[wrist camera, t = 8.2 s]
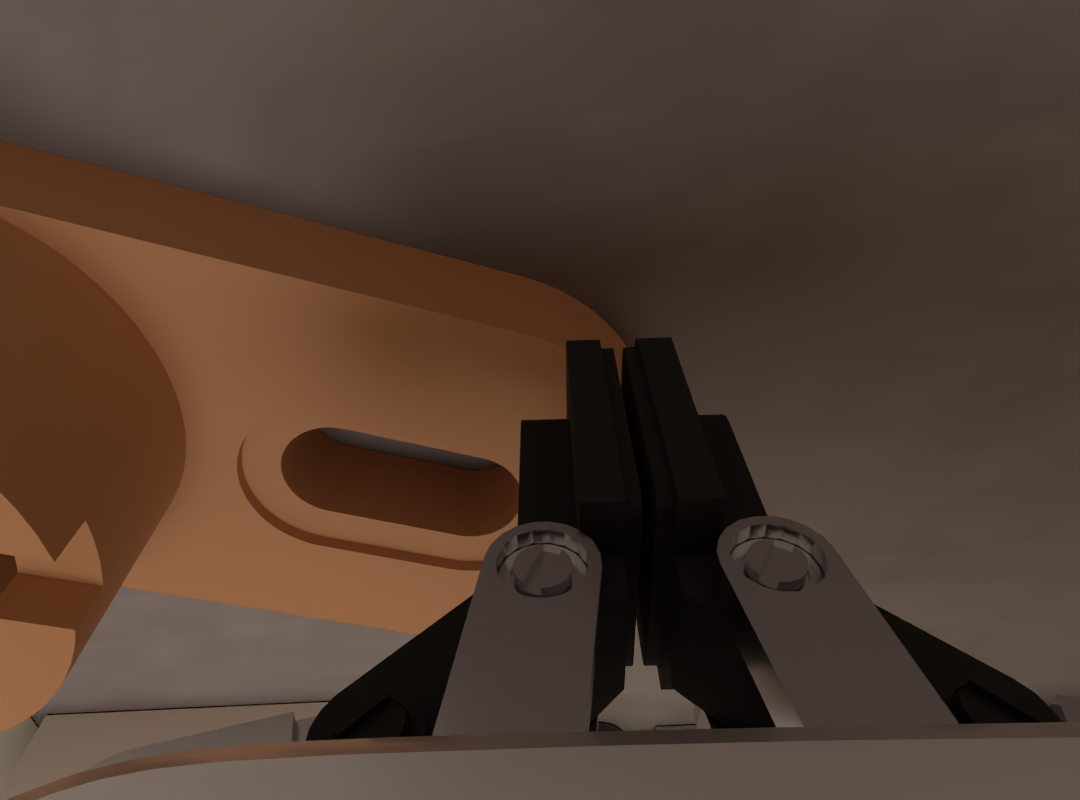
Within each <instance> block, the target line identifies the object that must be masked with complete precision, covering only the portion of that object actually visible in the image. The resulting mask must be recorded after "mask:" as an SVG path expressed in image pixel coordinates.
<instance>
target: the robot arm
mask: <svg viewBox="0 0 1080 800" xmlns="http://www.w3.org/2000/svg"><path fill="white" fill-rule="evenodd" d="M566 404H567V419H540V420H521V434H520V466H519V498H518V526H516V527H514V528H512V529H510V530H508V531H506V532H504V533H502V534H501V535H500V536H499V537H498V538H497V539H496V540H495V541H494V542H493V543H492V544H491V545H490V547H489V548H488V550H487V552H486V554H485V556H484V559H483V563H482V566H481V569H480V573H479V576H478V580H477V583H476V587H475V590H474V594H473V595H471V596H470V597H469V598H467V599H466V600H465V601H463V602H462V603H461V604H459V605H458V606H457V607H455V608H454V609H452V610H451V611H450V612H448V613H447V614H446V615H444V616H443V617H442V618H440V619H439V620H438V621H436V622H435V623H433V624H432V625H431V626H429V627H428V628H427V629H425V630H424V631H423V632H421V633H420V634H418V635H417V636H416V637H414V638H413V639H412V640H410V641H409V642H408V643H406V644H405V645H404V646H402V647H401V648H399V649H398V650H397V651H395V652H394V653H393V654H391V655H390V656H389V657H387V658H386V659H385V660H383V661H382V662H380V663H379V664H378V665H376V666H375V667H374V668H372V669H371V670H370V671H368V672H367V673H366V674H364V675H363V676H361V677H360V678H359V679H357V680H356V681H355V682H353V683H352V684H351V685H349V686H348V687H347V688H345V689H344V690H342V691H341V692H340V693H338V694H337V695H336V696H335V697H334V698H333V699H332V700H331V701H330V702H329V703H327V704H326V705H325V706H324V707H323V708H322V709H321V710H320V712H319V713H318V715H317V716H314V717H310V718H305V719H301V720H297V721H296V719H295V716H294V713H293V712H289V713H285V714H281V715H276V716H272V717H268V718H264V719H259V720H255V721H251V722H246V723H242V724H238V725H233V726H229V727H225V728H220V729H216V730H212V731H207V732H203V733H199V734H194V735H190V736H186V737H182V738H177V739H173V740H169V741H164V742H160V743H156V744H151V745H147V746H143V747H138V748H134V749H130V750H125V751H123V752H120V753H118V754H115V755H112V756H110V757H107V758H105V759H102V760H100V761H99V762H97V763H96V764H94V765H93V766H92V767H90V768H89V769H87V770H86V771H84V772H80V773H76V774H73V775H70V776H67V777H65V778H62V779H59V780H57V781H54V782H51V783H48V784H46V785H43V786H40V787H38V788H35V789H32V790H29V791H27V792H24V793H21V794H19V795H16V796H13V797H11V798H9V799H7V800H1080V698H1074V697H1069V696H1063V695H1057V694H1056V696H1055V697H1054V699H1053V701H1052V703H1051V704H1050V703H1045V702H1044V701H1043V700H1042V699H1041V698H1040V697H1039V696H1038V695H1037V694H1036V693H1034V692H1033V691H1031V690H1030V689H1028V688H1026V687H1025V686H1023V685H1022V684H1020V683H1019V682H1017V681H1016V680H1014V679H1013V678H1011V677H1009V676H1007V675H1005V674H1003V673H1001V672H1000V671H998V670H996V669H994V668H992V667H990V666H988V665H986V664H985V663H983V662H981V661H979V660H977V659H975V658H973V657H972V656H970V655H968V654H966V653H964V652H962V651H960V650H958V649H957V648H955V647H953V646H951V645H949V644H947V643H945V642H944V641H942V640H940V639H938V638H936V637H934V636H932V635H930V634H929V633H927V632H925V631H923V630H921V629H919V628H917V627H916V626H914V625H912V624H910V623H908V622H906V621H904V620H902V619H901V618H899V617H897V616H895V615H893V614H891V613H889V612H888V611H886V610H884V609H882V608H880V607H878V606H876V605H875V604H874V603H873V602H872V601H871V599H870V598H869V596H868V595H867V594H866V592H865V591H864V589H863V588H862V587H861V585H860V584H859V582H858V581H857V580H856V578H855V577H854V575H853V574H852V573H851V571H850V570H849V568H848V567H847V566H846V564H845V563H844V561H843V560H842V559H841V557H840V556H839V554H838V553H837V552H836V550H835V549H834V548H833V546H832V545H831V544H830V543H829V542H828V541H827V540H826V539H825V538H824V537H823V536H822V535H820V534H819V533H817V532H816V531H814V530H812V529H811V528H809V527H808V526H806V525H803V524H800V523H798V522H795V521H793V520H790V519H785V518H780V517H774V516H767V514H766V512H765V509H764V507H763V504H762V502H761V499H760V497H759V495H758V492H757V490H756V487H755V485H754V482H753V480H752V477H751V475H750V472H749V470H748V468H747V465H746V463H745V460H744V458H743V455H742V453H741V450H740V448H739V445H738V443H737V440H736V438H735V436H734V433H733V431H732V428H731V426H730V423H729V421H728V419H727V418H726V416H724V415H698V413H697V411H696V408H695V405H694V402H693V399H692V396H691V393H690V390H689V388H688V385H687V382H686V379H685V376H684V373H683V370H682V367H681V364H680V362H679V359H678V356H677V353H676V350H675V347H674V344H673V341H672V339H671V338H637V339H636V341H635V347H630V348H623V352H622V373H621V385H620V380H619V375H618V370H617V364H616V359H615V354H614V349H613V348H601V343H600V340H567V341H566ZM636 619H637V626H638V633H639V639H640V646H641V653H642V659H643V663H644V665H645V666H649V665H657V668H658V674H659V680H660V686H661V690H662V689H674V690H676V691H677V692H679V693H680V694H681V695H683V696H684V697H685V698H687V699H688V700H689V701H691V702H692V703H694V704H695V707H694V716H695V721H696V726H697V729H682V730H639V731H598V715H599V714H600V713H601V712H602V711H603V710H604V709H605V708H606V707H607V706H608V705H609V704H610V703H611V702H612V701H613V700H614V699H615V698H616V697H617V696H618V695H619V694H620V693H621V692H622V691H623V690H624V681H625V666H632V665H633V656H634V640H635V624H636Z"/></svg>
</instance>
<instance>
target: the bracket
mask: <svg viewBox="0 0 1080 800" xmlns="http://www.w3.org/2000/svg"><path fill="white" fill-rule="evenodd" d="M567 340H600V343H601V348H613V349H614V354H615V359H616V364H617V370H618V375H619V380H620V385H621V373H622V352H623V348H627V346H626V345H625V343H624V342H623V340H622V339H621V338H620V337H619V336H618V335H617V333H616V332H615V331H614V330H613V329H612V328H611V326H610V325H609V324H607V323H606V322H605V321H604V320H603V319H602V318H601V317H600V316H599V315H598V314H596V313H595V312H594V311H593V310H591V309H590V308H588V307H587V306H586V305H584V304H583V303H581V302H580V301H578V300H577V299H575V298H573V297H571V296H570V295H568V294H566V293H564V292H563V291H561V290H558V289H556V288H554V287H551V286H549V285H547V284H545V283H542V282H539V281H536V280H533V279H530V278H526V277H523V276H520V275H516V274H512V273H508V272H504V271H500V270H497V269H493V268H489V267H485V266H481V265H477V264H474V263H470V262H466V261H462V260H458V259H454V258H451V257H447V256H443V255H439V254H435V253H431V252H428V251H424V250H420V249H416V248H412V247H408V246H405V245H401V244H397V243H393V242H389V241H385V240H381V239H378V238H374V237H370V236H366V235H362V234H358V233H355V232H351V231H347V230H343V229H339V228H335V227H332V226H328V225H324V224H320V223H316V222H312V221H309V220H305V219H301V218H297V217H293V216H289V215H286V214H282V213H278V212H274V211H270V210H266V209H262V208H259V207H255V206H251V205H247V204H243V203H239V202H236V201H232V200H228V199H224V198H220V197H216V196H213V195H209V194H205V193H201V192H197V191H193V190H190V189H186V188H182V187H178V186H174V185H170V184H167V183H163V182H159V181H155V180H151V179H147V178H143V177H140V176H136V175H132V174H128V173H124V172H120V171H117V170H113V169H109V168H105V167H101V166H97V165H94V164H90V163H86V162H82V161H78V160H74V159H71V158H67V157H63V156H59V155H55V154H51V153H48V152H44V151H40V150H36V149H32V148H28V147H24V146H21V145H17V144H13V143H9V142H5V141H1V140H0V733H1V732H4V731H6V730H9V729H10V728H12V727H14V726H16V725H18V724H19V723H21V722H23V721H25V720H27V719H28V718H29V717H31V716H32V715H33V714H35V713H36V712H37V711H38V710H40V709H41V708H42V707H43V706H44V705H45V704H46V703H47V702H48V701H49V700H50V699H51V698H52V697H53V696H54V695H55V693H56V692H57V690H58V689H59V687H60V686H61V684H62V683H63V681H64V680H65V678H66V676H67V675H68V673H69V671H70V670H71V668H72V666H73V665H74V663H75V661H76V660H77V658H78V657H79V655H80V653H81V652H82V650H83V648H84V647H85V645H86V643H87V642H88V640H89V638H90V637H91V635H92V633H93V632H94V630H95V628H96V627H97V625H98V623H99V622H100V620H101V618H102V617H103V615H104V613H105V612H106V610H107V608H108V607H109V605H110V603H111V602H112V600H113V598H114V597H115V595H116V594H117V592H118V590H119V589H120V587H127V588H133V589H139V590H146V591H152V592H158V593H164V594H170V595H177V596H183V597H189V598H195V599H201V600H207V601H214V602H220V603H226V604H232V605H238V606H245V607H251V608H257V609H263V610H269V611H275V612H282V613H288V614H294V615H300V616H306V617H313V618H319V619H325V620H331V621H337V622H343V623H350V624H356V625H362V626H368V627H374V628H381V629H387V630H393V631H399V632H405V633H411V634H420V633H421V632H423V631H424V630H425V629H427V628H428V627H429V626H431V625H432V624H433V623H435V622H436V621H438V620H439V619H440V618H442V617H443V616H444V615H446V614H447V613H448V612H450V611H451V610H452V609H454V608H455V607H457V606H458V605H459V604H461V603H462V602H463V601H465V600H466V599H467V598H469V597H470V596H471V595H473V594H474V590H475V587H476V583H477V580H478V576H479V573H480V569H481V566H482V563H483V559H484V556H485V554H486V552H487V550H488V548H489V547H490V545H491V544H492V543H493V542H494V541H495V540H496V539H497V538H498V537H499V536H500V535H501V534H502V533H504V532H506V531H508V530H510V529H512V528H514V527H516V526H518V498H519V466H520V434H521V420H540V419H567V404H566V341H567ZM325 427H332V428H341V429H346V430H351V431H356V432H361V433H365V434H370V435H375V436H380V437H384V438H389V439H394V440H399V441H403V442H408V443H413V444H418V445H422V446H427V447H432V448H437V449H441V450H446V451H451V452H456V453H460V454H465V455H470V456H475V457H479V458H484V459H488V460H491V461H493V462H496V463H498V464H500V465H498V466H496V467H494V468H490V469H486V470H465V469H460V468H455V467H450V466H445V465H441V464H436V463H431V462H426V461H421V460H416V459H412V458H407V457H402V456H397V455H392V454H387V453H383V452H378V451H373V450H368V449H363V448H358V447H354V446H349V445H345V444H342V443H339V442H337V441H335V440H333V439H331V438H330V437H328V436H327V435H325V434H324V433H323V432H322V431H321V430H320V429H319V428H325Z"/></svg>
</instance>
